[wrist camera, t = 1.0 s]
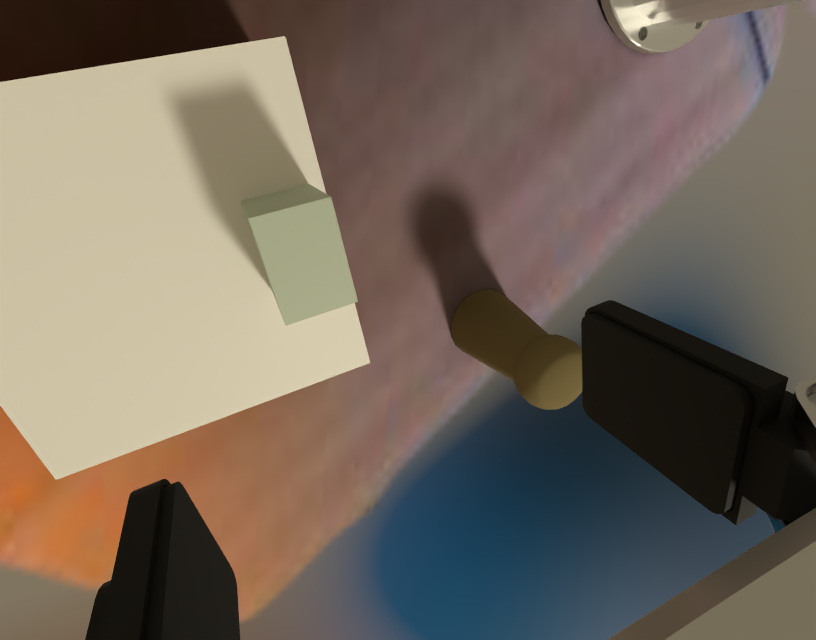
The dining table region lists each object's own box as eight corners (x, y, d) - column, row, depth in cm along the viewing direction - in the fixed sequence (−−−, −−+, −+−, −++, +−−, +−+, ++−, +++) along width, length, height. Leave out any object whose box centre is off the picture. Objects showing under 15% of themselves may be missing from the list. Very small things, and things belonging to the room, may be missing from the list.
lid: (282, 39, 21) (305, 13, 16) (366, 357, 30) (398, 404, 25) (-198, 116, 17) (-369, 114, 12) (59, 470, 25) (23, 555, 20)
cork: (448, 358, 39) (524, 432, 30) (452, 292, 37) (535, 350, 28) (507, 348, 41) (595, 413, 32) (515, 285, 39) (612, 336, 30)
